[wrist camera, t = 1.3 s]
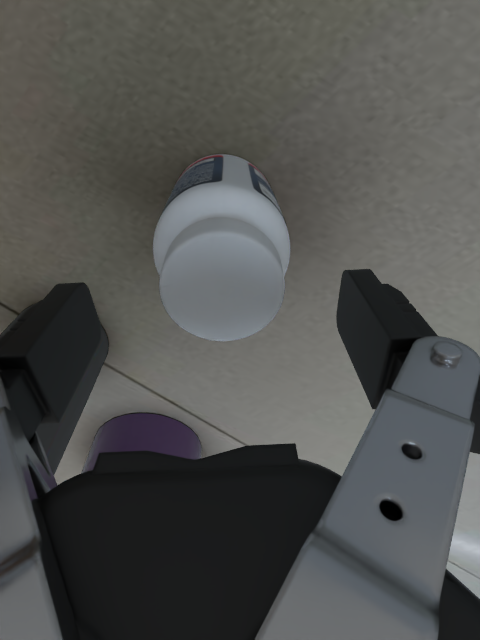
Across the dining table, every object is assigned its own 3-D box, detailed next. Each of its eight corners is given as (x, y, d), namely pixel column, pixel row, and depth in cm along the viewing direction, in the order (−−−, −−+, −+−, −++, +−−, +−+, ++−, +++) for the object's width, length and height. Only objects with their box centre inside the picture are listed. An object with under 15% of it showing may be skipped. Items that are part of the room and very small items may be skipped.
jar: (75, 413, 27) (5, 564, 18) (198, 406, 27) (183, 555, 18) (108, 481, 32) (66, 621, 24) (210, 476, 32) (203, 614, 24)
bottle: (-5, 319, 22) (-316, 633, 9) (72, 286, 20) (-165, 596, 8) (57, 380, 25) (-114, 676, 12) (127, 355, 24) (15, 654, 11)
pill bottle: (166, 241, 19) (127, 341, 12) (181, 139, 16) (142, 187, 9) (258, 262, 20) (274, 367, 13) (287, 169, 17) (331, 234, 10)
